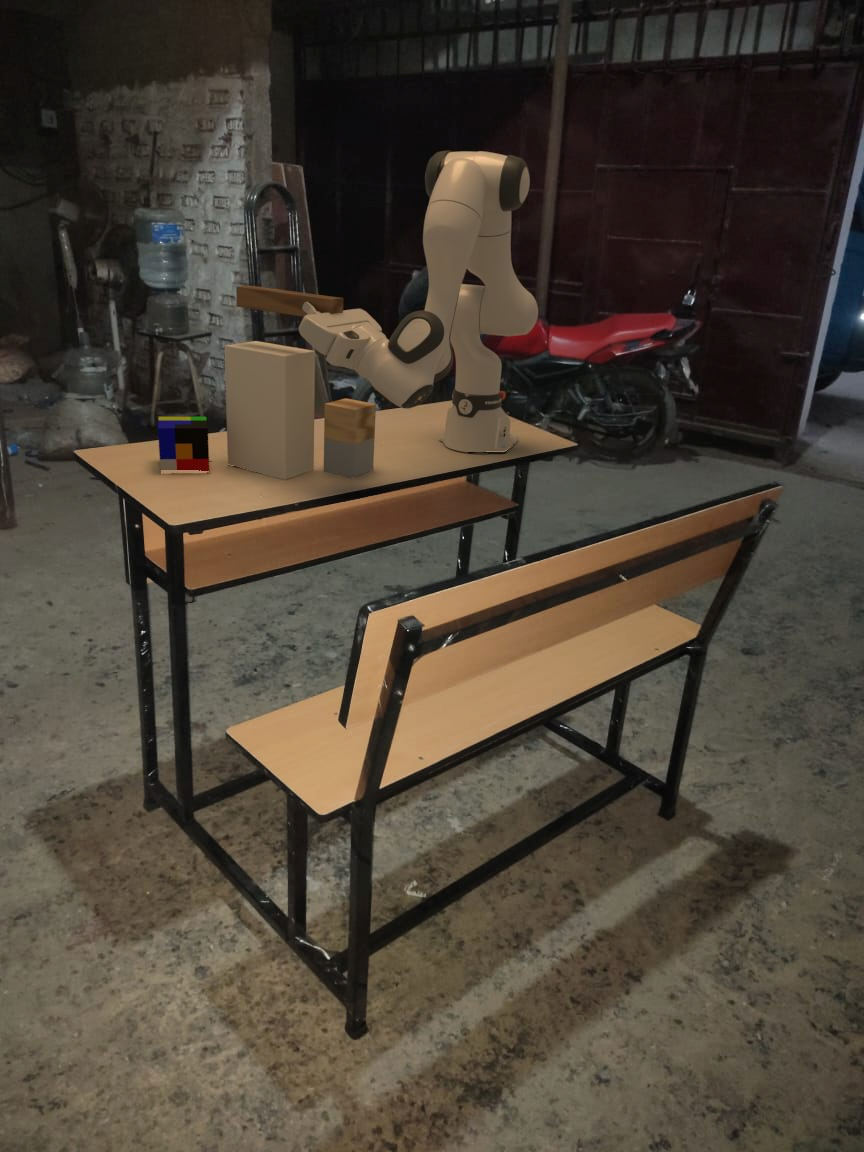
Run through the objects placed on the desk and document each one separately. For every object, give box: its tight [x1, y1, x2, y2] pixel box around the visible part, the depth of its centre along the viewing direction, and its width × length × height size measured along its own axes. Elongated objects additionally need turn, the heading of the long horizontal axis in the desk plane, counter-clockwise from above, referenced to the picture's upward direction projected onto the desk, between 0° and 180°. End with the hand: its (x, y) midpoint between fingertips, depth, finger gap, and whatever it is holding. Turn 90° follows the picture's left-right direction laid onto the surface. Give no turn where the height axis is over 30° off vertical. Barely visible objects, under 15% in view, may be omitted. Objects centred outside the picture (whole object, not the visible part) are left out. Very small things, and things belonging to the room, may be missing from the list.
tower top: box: [323, 398, 377, 444], centre depth 188 cm, size 8×8×8 cm
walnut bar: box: [235, 285, 344, 318], centre depth 174 cm, size 4×24×4 cm, turn 61°
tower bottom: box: [323, 437, 375, 479], centre depth 191 cm, size 8×8×8 cm
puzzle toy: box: [157, 416, 210, 472], centre depth 185 cm, size 10×10×10 cm
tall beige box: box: [224, 340, 316, 481], centre depth 185 cm, size 10×16×26 cm, turn 61°
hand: (313, 303), depth 171 cm, fingers closed on walnut bar, 4 cm apart
